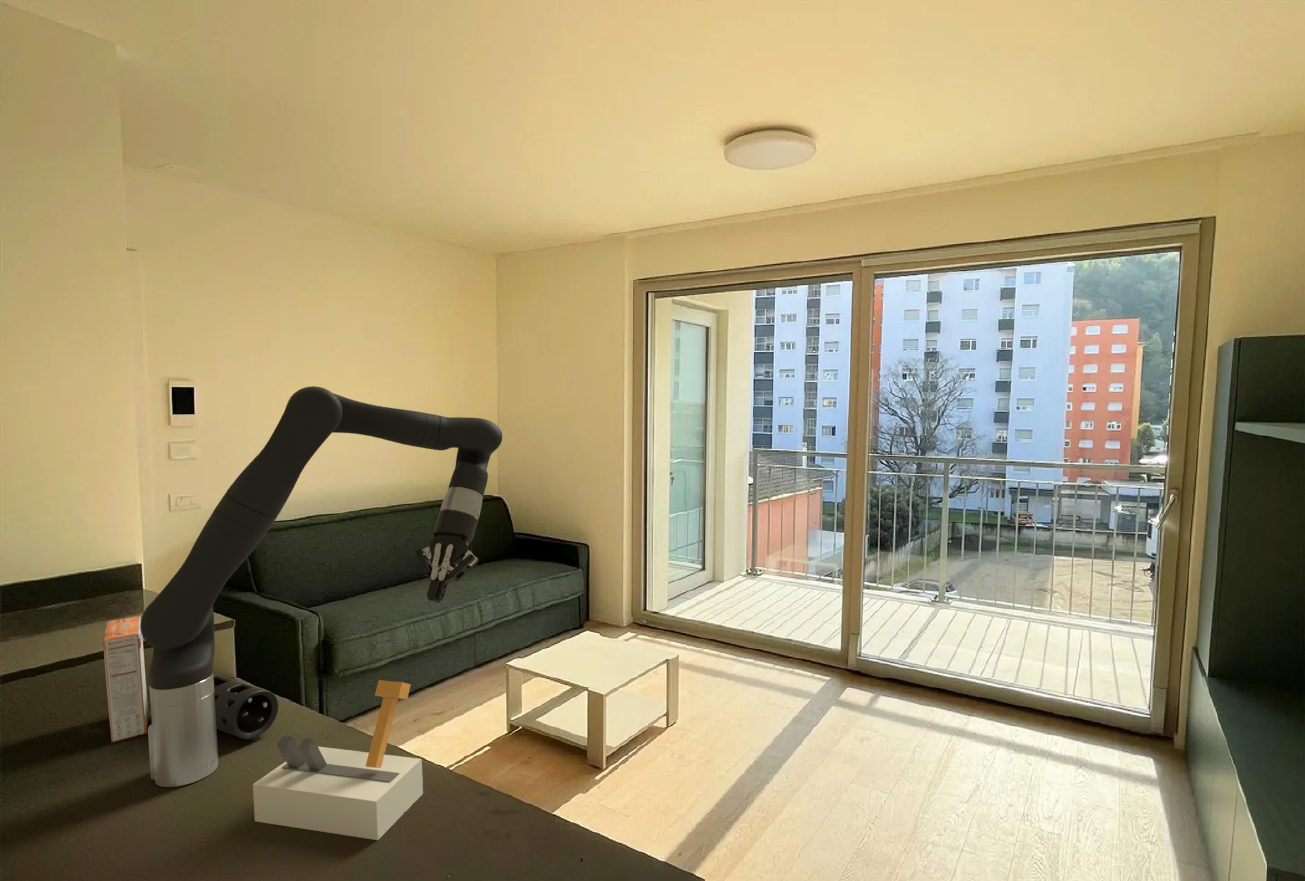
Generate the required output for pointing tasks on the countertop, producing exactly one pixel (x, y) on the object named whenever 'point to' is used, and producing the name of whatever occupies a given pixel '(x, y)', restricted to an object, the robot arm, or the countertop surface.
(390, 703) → the lever
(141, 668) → the cracker box
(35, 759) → the countertop surface
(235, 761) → the countertop surface
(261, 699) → the muzzle brake
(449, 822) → the countertop surface
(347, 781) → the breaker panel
